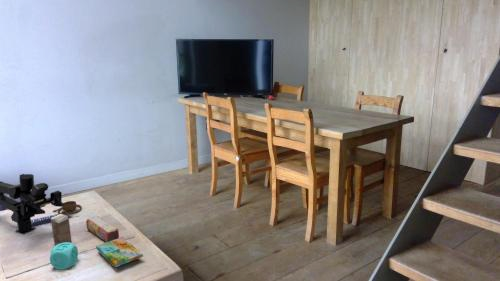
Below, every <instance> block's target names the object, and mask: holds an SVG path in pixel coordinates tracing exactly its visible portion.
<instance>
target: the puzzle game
mask: <svg viewBox="0 0 500 281" xmlns="http://www.w3.org/2000/svg"><path fill="white" fill-rule="evenodd" d="M95 249H96V250H97V251H98V253H100V254H101V255H102V256H103V257H104V258H105V259H106V260H107V261H108V262H109V263H110V265H112V266H113V267H114V268H116V267H120V266H122V265H125V264H127V263H130V262H132V261H135V260H138V259H141V258H143V257H144V254H143V253H142V252H141V251H140V250H139V249H137V248H136V247H135V246H134V245H132V244H131V243H130V242H129V241H128V240H126V238H125V237H123V236H121V237H119V238H118V239H115V240H112V241H109V242H106V241H105V242H103V243H101V244H98V245H96V246H95Z"/></svg>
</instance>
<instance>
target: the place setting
mask: <svg viewBox="0 0 500 281" xmlns="http://www.w3.org/2000/svg"><path fill="white" fill-rule="evenodd" d="M62 203H63V204H64V206H63V207H59V208H57V209H55V210H52V212H53V213H56V212H57V213H58V215H59V214H63V215H66V216H72V215H74V214H77V213H79V212H81V211H82V208H83V207H82V205H80V204H77V202H76V201H74V200H68V201H65V202H62ZM76 208H78V210H76ZM75 210H76V211H75ZM61 211H62V212H61ZM67 214H69V215H67ZM75 217H77V218H78V217H79V215H76V216H75Z"/></svg>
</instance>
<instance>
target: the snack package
mask: <svg viewBox="0 0 500 281" xmlns="http://www.w3.org/2000/svg"><path fill="white" fill-rule="evenodd" d="M86 229H87V230H88V231H90V232H91V233H93V234H94V235H95V236H97V237H99V238H100V239H101V240H103V241H104V242H105V243H106V242H109V241H112V240H115V239H118V238H120V233H119V228H116V227H115V226H113V225H111V223H109V222H107V221H106V220H104V219H103V218H101V217H100V216H98V215H92V216H90V217H88V218H87V219H86Z"/></svg>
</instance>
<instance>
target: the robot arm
mask: <svg viewBox="0 0 500 281" xmlns="http://www.w3.org/2000/svg"><path fill="white" fill-rule="evenodd" d="M48 190H49V184H48V183H46V182H42V183H41V182H40V183H37V184H35V178H34V174H32V173H31V174H30V173H27V174H26V173H22V174H19V183H18V184H11V183H7V182H4V181H2V180H1V181H0V206H1V207H3V208H5V209H7V210H8V211H11V212H12V215H11V216H10V218H11V222H14V223H16V225H17V229H16V230H14V232H15V233H18V234H21V235H24V234H25V235H26V234H27V233H29V232H32V231H34V230H36V227H34V226H33V223H32V219H31V218H33V217H34V218H35V216H37V215H45V214H46V210H44V209H43V208H44V207H46V205H50V204H51V205H52V206H54V207H59V208H61V207H63V206H64V204H63V203H64V202H62V191H60V190H56V191H53V192H50V193H49V194H50V195H49V198H46V197H47V193H46V191H48ZM7 195H8V196H9V197H8V196H7ZM17 199H19V200H20V201H17Z"/></svg>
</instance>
